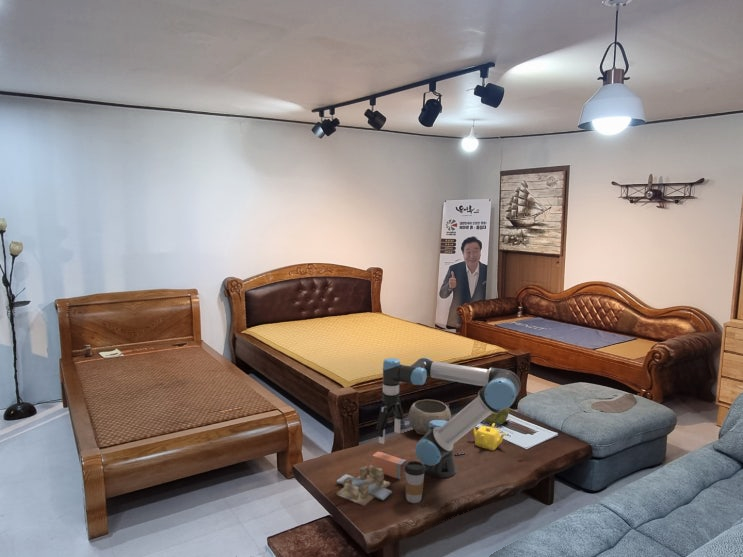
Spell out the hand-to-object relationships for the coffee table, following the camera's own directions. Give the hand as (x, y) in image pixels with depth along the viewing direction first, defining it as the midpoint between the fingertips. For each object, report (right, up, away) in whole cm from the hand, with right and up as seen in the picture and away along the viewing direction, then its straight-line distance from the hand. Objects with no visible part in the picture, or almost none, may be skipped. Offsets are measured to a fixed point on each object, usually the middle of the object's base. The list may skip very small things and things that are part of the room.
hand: (389, 437), depth 235 cm
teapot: (+52, -14, +33) cm, 63 cm away
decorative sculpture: (+62, -10, +64) cm, 90 cm away
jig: (-12, -18, -13) cm, 25 cm away
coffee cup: (+9, -20, -19) cm, 29 cm away
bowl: (+23, -11, +47) cm, 54 cm away
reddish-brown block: (0, -17, +2) cm, 17 cm away
